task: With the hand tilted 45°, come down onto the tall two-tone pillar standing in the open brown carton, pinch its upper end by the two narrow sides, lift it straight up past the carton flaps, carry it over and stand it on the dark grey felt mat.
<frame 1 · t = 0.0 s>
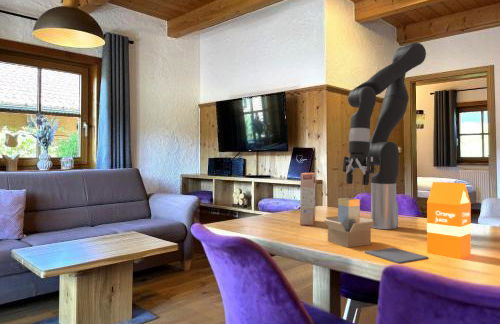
hand: (357, 184, 139), 17 cm above the table, tool pointing down, fingers open, 8 cm apart
orange juice: (448, 254, 105), on the table
carton: (348, 242, 119), on the table
tall two-tone pillar: (348, 220, 119), in the carton
felt mat: (395, 255, 103), on the table
cracker box: (308, 223, 156), on the table
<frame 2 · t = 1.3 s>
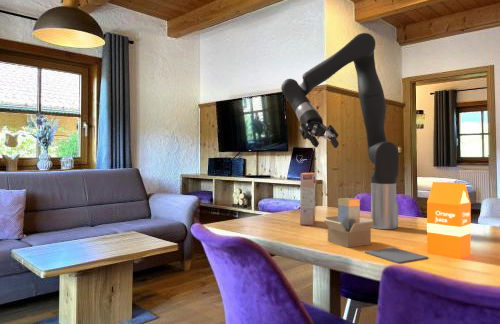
hand: (327, 146, 131), 31 cm above the table, tool tilted 45°, fingers open, 8 cm apart
nothing on the table moved.
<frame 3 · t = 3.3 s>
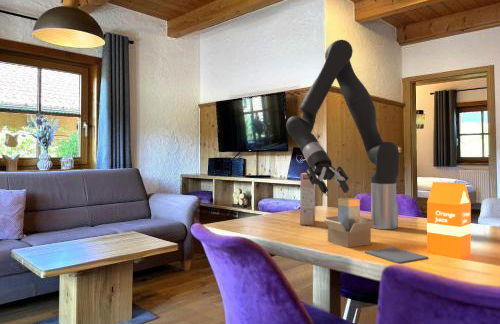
hand: (336, 191, 124), 16 cm above the table, tool tilted 45°, fingers open, 8 cm apart
nothing on the table moved.
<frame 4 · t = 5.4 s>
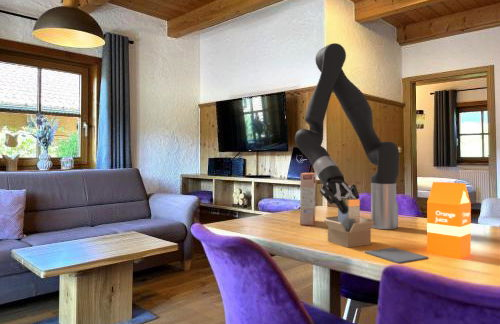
hand: (351, 211, 117), 10 cm above the table, tool tilted 45°, fingers closed on tall two-tone pillar, 4 cm apart
tall two-tone pillar: (348, 220, 119), in the carton, touching gripper
everything else where it was.
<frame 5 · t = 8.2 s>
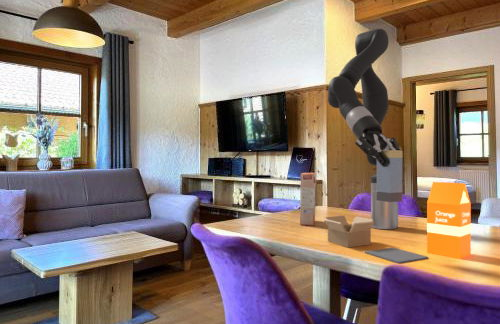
hand: (393, 164, 103), 25 cm above the table, tool tilted 45°, fingers closed on tall two-tone pillar, 4 cm apart
tall two-tone pillar: (389, 175, 104), point 22 cm above the table, touching gripper
everything else where it was.
when the fingers open (12 cm above the table, at t = 11.3 s): tall two-tone pillar drops 1 cm, resting on felt mat.
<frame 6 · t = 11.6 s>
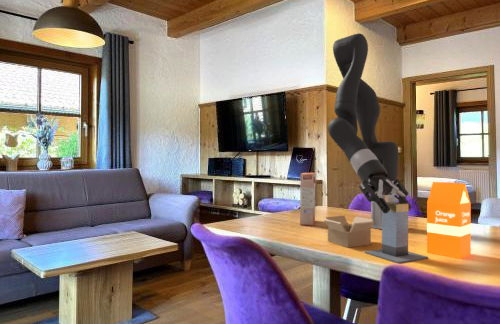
hand: (398, 210, 102), 13 cm above the table, tool tilted 45°, fingers open, 7 cm apart
tall two-tone pillar: (394, 228, 103), on the felt mat
everything else where it was.
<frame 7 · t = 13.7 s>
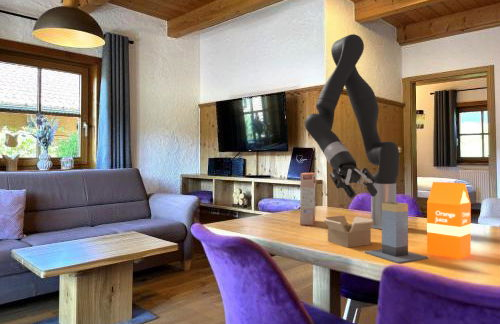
hand: (364, 195, 114), 15 cm above the table, tool tilted 45°, fingers open, 8 cm apart
nothing on the table moved.
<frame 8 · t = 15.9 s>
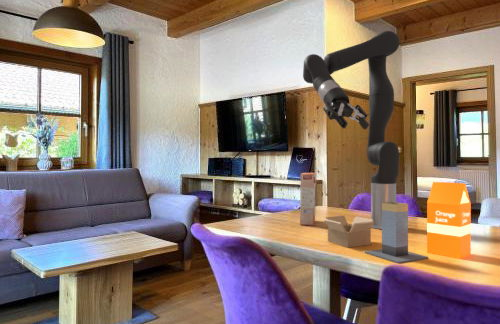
hand: (356, 126, 117), 37 cm above the table, tool tilted 45°, fingers open, 8 cm apart
nothing on the table moved.
at the end: tall two-tone pillar 0.3 cm from the felt mat (horizontally); tall two-tone pillar tilted 0°; tall two-tone pillar resting on felt mat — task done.
